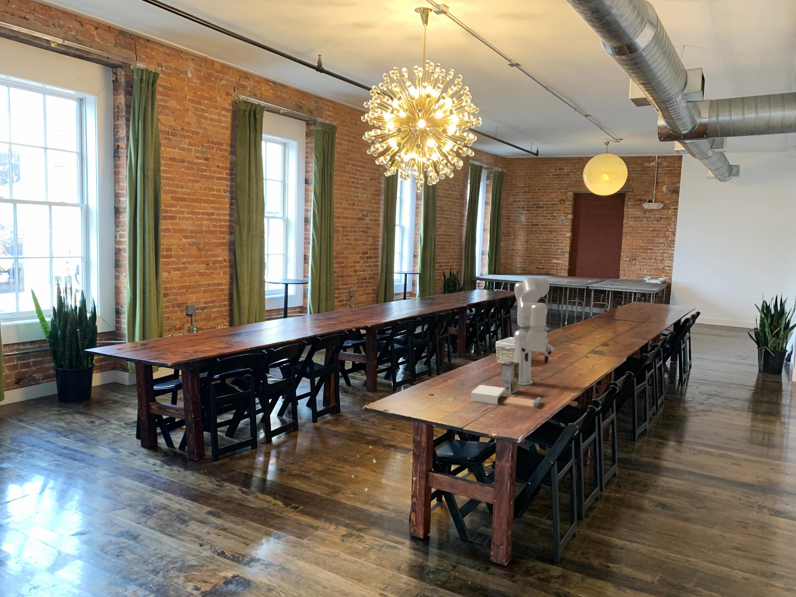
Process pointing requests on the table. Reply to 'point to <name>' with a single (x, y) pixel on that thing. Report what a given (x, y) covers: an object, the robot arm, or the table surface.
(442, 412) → the table surface
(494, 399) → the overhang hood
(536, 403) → the tan flat board
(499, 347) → the storage basket
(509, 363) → the coffee box
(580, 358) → the table surface
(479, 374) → the table surface
